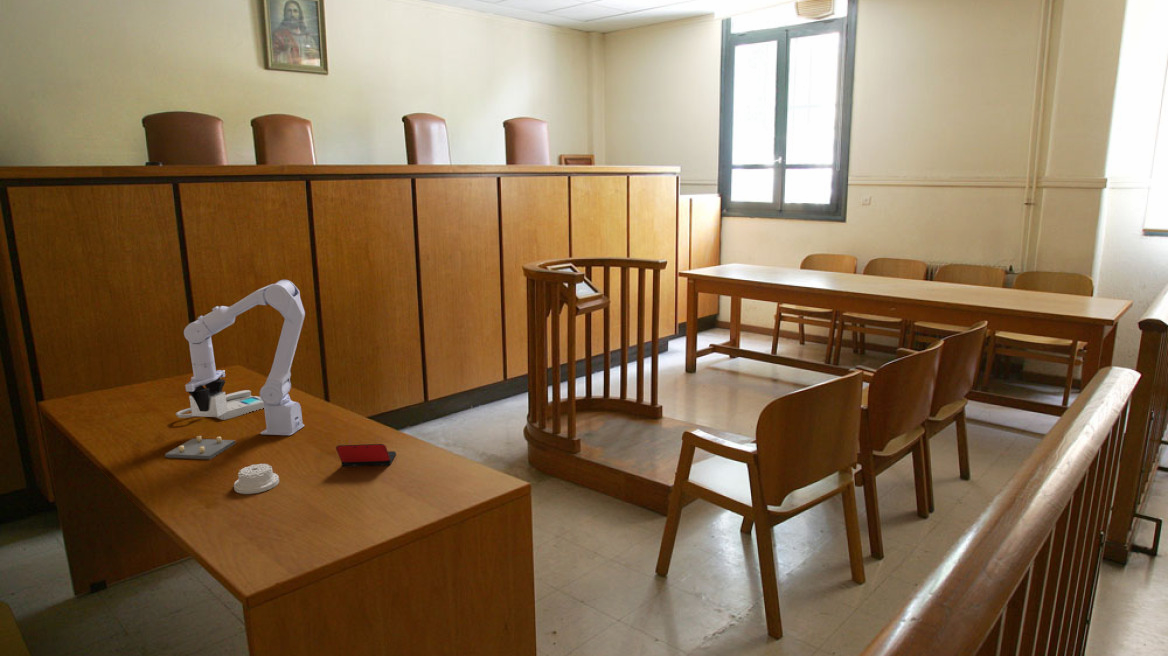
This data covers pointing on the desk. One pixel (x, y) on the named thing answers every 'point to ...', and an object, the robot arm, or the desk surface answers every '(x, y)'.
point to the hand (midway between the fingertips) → (209, 408)
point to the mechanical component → (255, 479)
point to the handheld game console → (365, 455)
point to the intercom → (234, 405)
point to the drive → (211, 405)
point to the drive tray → (200, 448)
